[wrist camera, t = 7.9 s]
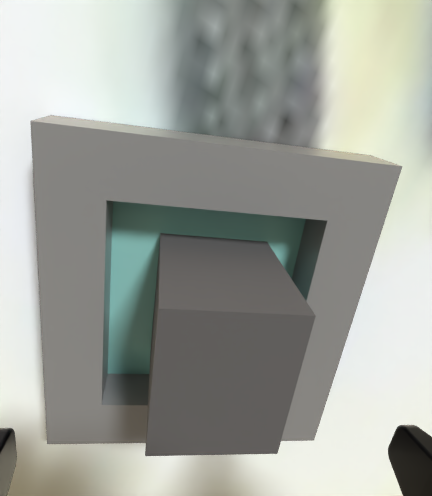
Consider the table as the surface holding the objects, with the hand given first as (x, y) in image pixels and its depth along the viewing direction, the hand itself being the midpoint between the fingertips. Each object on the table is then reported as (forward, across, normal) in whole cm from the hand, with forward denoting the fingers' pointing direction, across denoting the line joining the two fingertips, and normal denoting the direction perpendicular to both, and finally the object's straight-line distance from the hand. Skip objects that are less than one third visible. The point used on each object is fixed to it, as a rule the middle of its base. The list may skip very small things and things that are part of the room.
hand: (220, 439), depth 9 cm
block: (+7, 0, 0) cm, 7 cm away
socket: (+7, 0, 0) cm, 7 cm away
